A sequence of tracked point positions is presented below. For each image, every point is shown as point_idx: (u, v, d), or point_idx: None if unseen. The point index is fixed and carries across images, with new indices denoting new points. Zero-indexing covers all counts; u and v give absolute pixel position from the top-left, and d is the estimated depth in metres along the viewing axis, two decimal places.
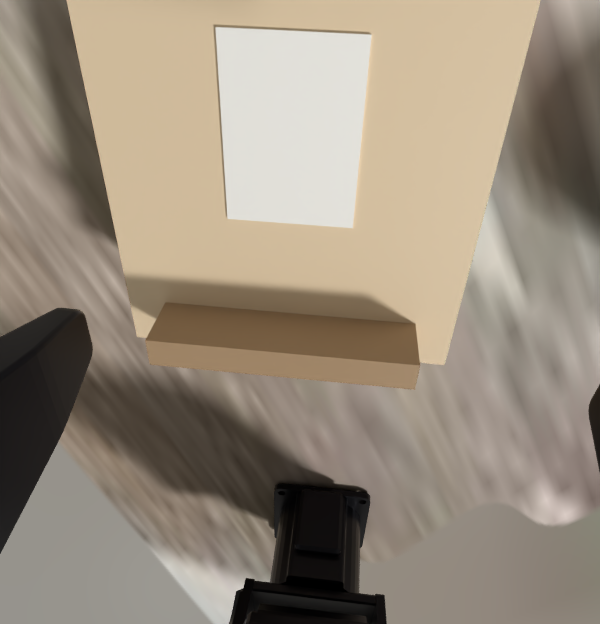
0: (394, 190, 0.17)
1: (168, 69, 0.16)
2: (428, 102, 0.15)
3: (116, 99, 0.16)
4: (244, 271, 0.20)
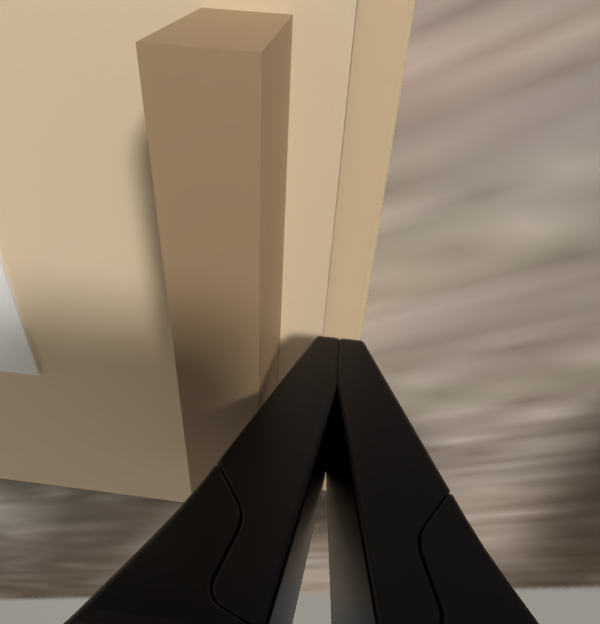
0: None
1: None
2: None
3: None
4: (137, 367, 0.11)
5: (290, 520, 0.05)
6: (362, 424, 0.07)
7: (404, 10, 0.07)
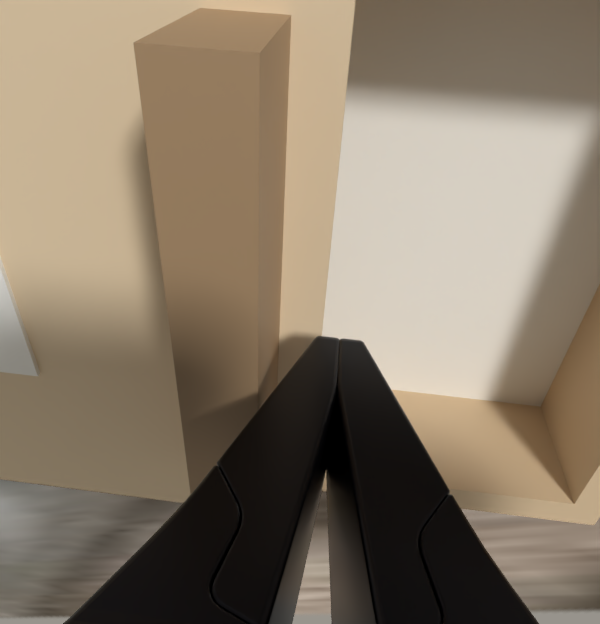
0: None
1: None
2: None
3: None
4: (135, 367, 0.11)
5: (290, 520, 0.05)
6: (362, 424, 0.07)
7: None
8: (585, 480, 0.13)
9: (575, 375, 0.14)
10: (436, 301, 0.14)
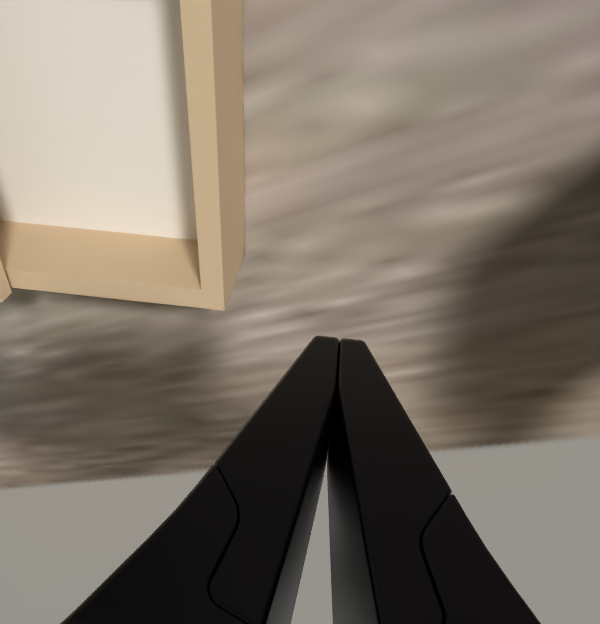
0: None
1: None
2: None
3: None
4: None
5: (288, 519, 0.05)
6: (364, 424, 0.07)
7: None
8: (201, 268, 0.18)
9: None
10: (114, 148, 0.19)
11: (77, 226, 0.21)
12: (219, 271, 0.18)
